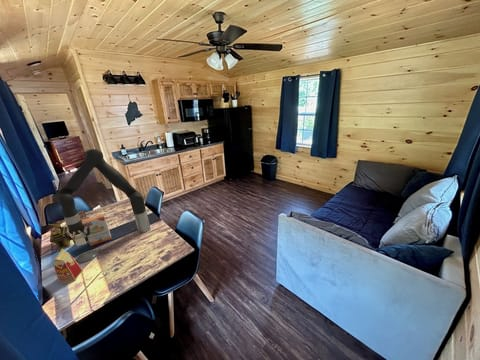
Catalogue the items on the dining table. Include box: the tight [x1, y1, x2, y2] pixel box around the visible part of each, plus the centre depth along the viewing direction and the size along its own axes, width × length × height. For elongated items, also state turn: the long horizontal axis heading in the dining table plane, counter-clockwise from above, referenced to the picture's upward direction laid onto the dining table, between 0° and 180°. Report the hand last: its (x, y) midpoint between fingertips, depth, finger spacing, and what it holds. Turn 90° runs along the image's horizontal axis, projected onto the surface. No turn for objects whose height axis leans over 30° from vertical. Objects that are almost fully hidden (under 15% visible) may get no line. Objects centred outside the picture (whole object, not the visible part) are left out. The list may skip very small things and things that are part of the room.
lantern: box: [77, 210, 90, 222], centre depth 178 cm, size 10×9×30 cm
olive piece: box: [47, 221, 71, 251], centre depth 150 cm, size 20×10×20 cm, turn 37°
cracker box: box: [82, 213, 112, 247], centre depth 153 cm, size 14×6×21 cm, turn 125°
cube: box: [75, 234, 87, 247], centre depth 136 cm, size 5×5×5 cm
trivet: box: [76, 249, 99, 264], centre depth 141 cm, size 12×12×1 cm
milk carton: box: [52, 248, 84, 284], centre depth 121 cm, size 9×9×20 cm
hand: (81, 242), depth 137 cm, fingers closed on cube, 5 cm apart
